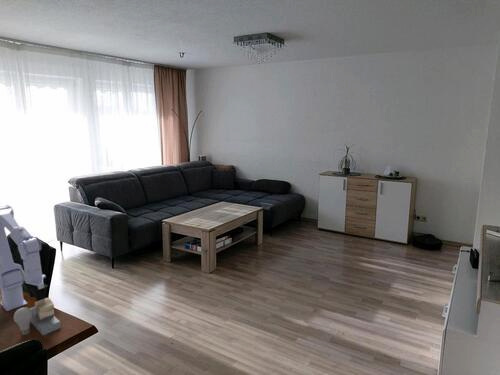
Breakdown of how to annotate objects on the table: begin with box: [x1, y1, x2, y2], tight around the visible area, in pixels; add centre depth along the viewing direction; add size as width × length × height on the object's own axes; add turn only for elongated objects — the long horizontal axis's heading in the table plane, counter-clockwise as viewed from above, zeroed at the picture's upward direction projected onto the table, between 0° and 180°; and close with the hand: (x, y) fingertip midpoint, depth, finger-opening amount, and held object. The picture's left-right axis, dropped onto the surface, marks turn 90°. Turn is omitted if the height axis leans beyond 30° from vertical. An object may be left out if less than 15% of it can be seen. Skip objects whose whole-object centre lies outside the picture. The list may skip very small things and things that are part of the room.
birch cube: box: [34, 297, 55, 320], centre depth 141 cm, size 5×5×5 cm
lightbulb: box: [13, 306, 33, 336], centre depth 137 cm, size 6×6×11 cm
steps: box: [28, 306, 62, 336], centre depth 144 cm, size 14×6×6 cm, turn 49°
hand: (37, 299), depth 146 cm, fingers open, 7 cm apart
